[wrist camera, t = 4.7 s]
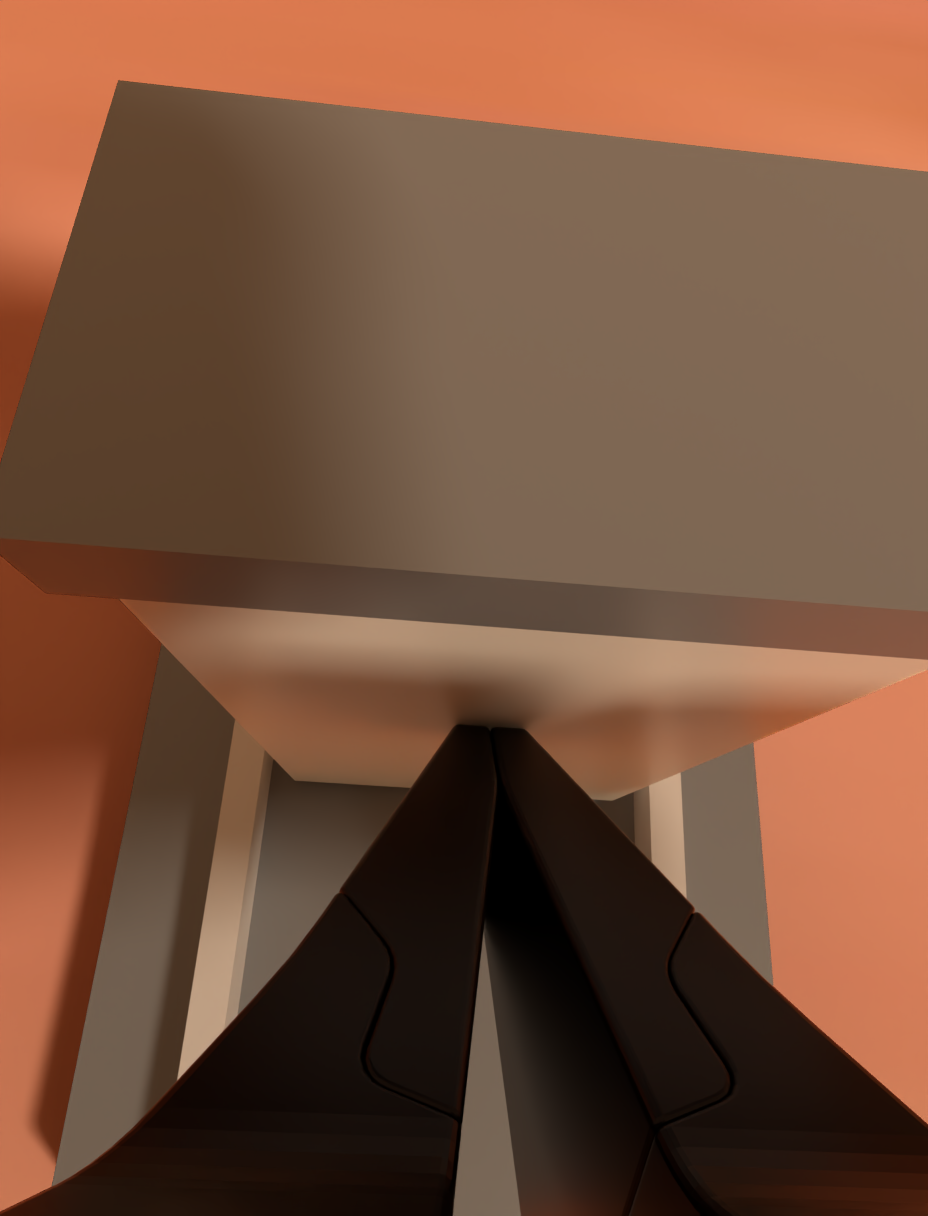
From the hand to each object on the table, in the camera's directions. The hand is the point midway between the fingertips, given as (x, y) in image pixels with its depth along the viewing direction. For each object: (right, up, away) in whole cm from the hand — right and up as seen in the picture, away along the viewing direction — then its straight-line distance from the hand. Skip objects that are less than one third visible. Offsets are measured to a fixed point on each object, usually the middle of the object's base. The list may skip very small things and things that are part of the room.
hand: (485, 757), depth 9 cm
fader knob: (0, 0, +6) cm, 6 cm away
